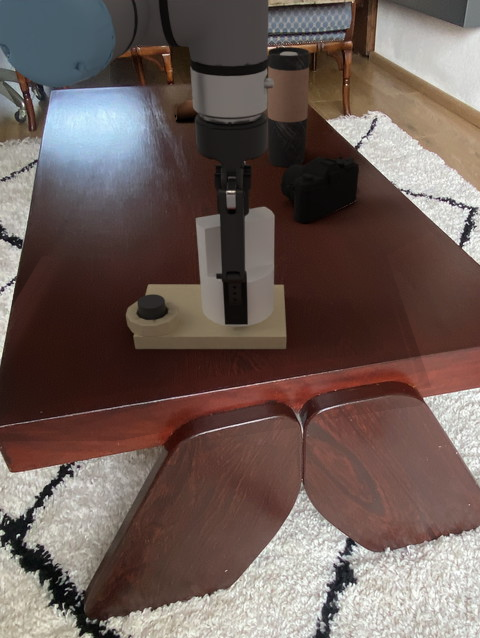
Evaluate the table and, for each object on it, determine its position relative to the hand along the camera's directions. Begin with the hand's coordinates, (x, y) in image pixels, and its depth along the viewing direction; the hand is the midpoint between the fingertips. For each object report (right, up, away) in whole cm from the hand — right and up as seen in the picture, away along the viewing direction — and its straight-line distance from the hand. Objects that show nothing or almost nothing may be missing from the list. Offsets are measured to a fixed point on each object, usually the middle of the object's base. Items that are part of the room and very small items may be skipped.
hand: (237, 301), depth 76 cm
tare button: (-10, -2, -3) cm, 11 cm away
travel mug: (+7, +34, +47) cm, 58 cm away
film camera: (+11, +20, +30) cm, 38 cm away
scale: (-3, -2, +1) cm, 4 cm away
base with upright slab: (0, -1, +1) cm, 1 cm away
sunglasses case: (-11, +52, +70) cm, 88 cm away
